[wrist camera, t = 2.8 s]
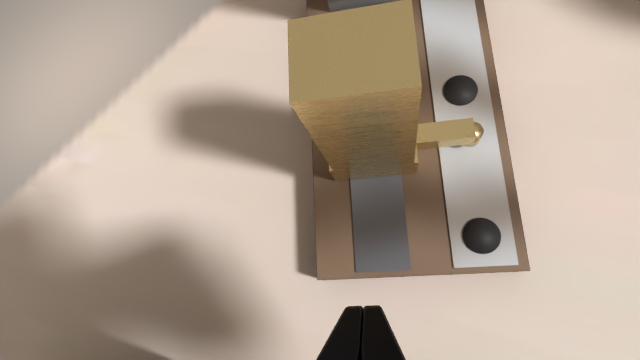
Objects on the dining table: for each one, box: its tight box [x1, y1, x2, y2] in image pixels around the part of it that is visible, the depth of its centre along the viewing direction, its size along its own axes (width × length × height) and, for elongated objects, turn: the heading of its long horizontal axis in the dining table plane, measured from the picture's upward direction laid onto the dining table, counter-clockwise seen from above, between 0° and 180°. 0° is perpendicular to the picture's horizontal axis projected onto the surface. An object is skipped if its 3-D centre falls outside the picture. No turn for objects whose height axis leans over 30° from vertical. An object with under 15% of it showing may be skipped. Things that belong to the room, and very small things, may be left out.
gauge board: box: [307, 0, 530, 280], centre depth 18 cm, size 20×10×12 cm, turn 2°
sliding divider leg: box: [288, 0, 484, 181], centre depth 17 cm, size 3×8×10 cm, turn 92°
